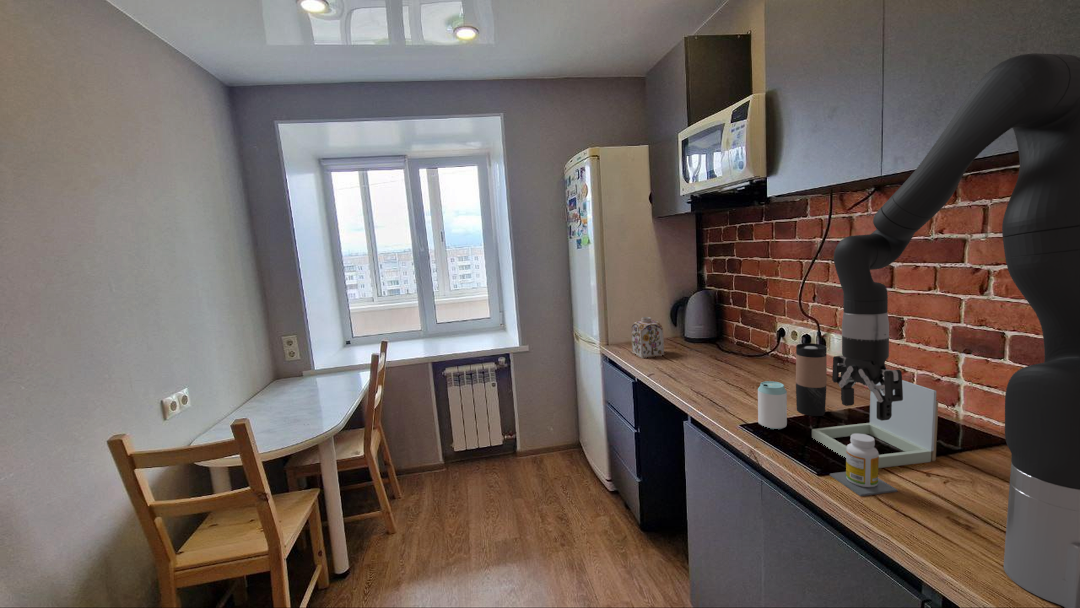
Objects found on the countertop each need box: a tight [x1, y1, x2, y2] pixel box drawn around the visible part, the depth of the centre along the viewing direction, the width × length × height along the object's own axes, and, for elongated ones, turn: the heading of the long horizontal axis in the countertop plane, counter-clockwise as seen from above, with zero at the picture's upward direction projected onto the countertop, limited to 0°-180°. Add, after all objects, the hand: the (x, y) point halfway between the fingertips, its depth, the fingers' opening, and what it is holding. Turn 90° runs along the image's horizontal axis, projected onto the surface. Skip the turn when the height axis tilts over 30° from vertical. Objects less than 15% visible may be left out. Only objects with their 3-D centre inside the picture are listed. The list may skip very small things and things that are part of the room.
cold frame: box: [811, 379, 939, 469], centre depth 101 cm, size 16×17×16 cm
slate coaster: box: [829, 471, 898, 497], centre depth 88 cm, size 8×8×1 cm
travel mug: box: [795, 342, 828, 417], centre depth 124 cm, size 8×8×20 cm
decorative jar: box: [630, 316, 665, 359], centre depth 202 cm, size 12×12×18 cm
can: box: [757, 380, 788, 430], centre depth 117 cm, size 7×7×12 cm
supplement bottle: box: [845, 433, 880, 487], centre depth 88 cm, size 5×5×10 cm
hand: (864, 411), depth 86 cm, fingers open, 8 cm apart
